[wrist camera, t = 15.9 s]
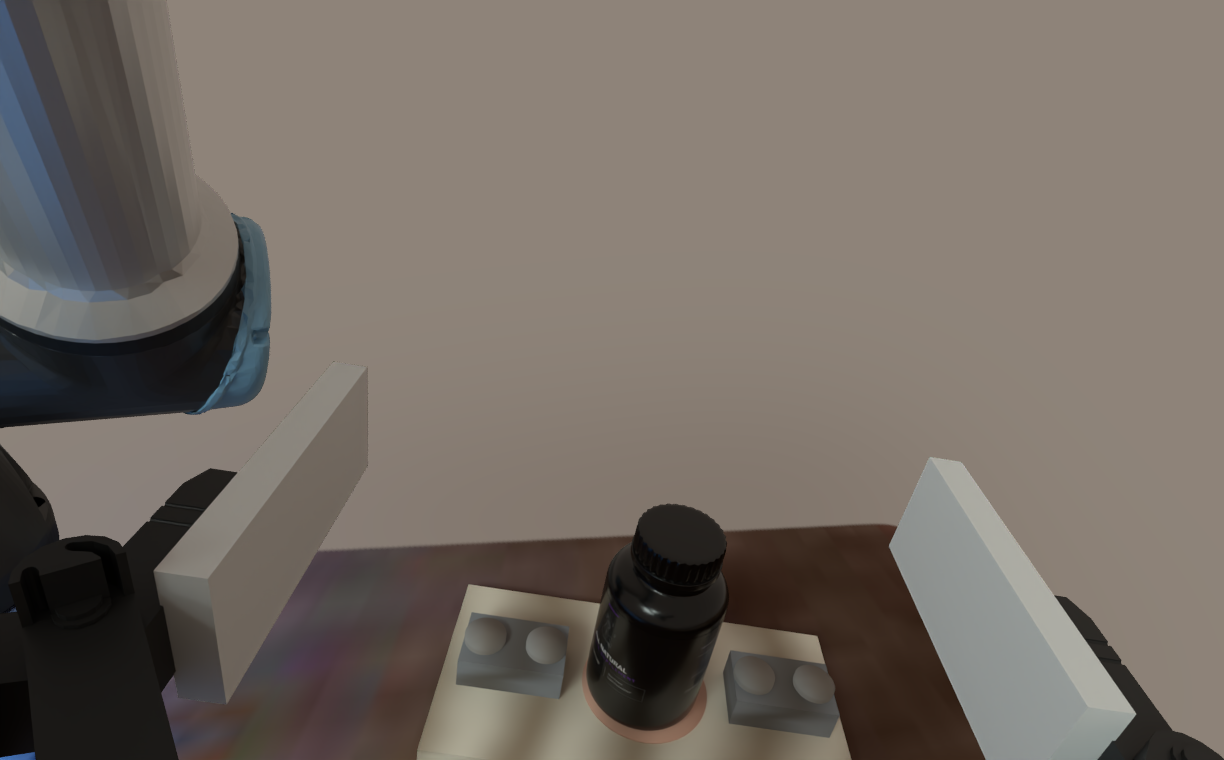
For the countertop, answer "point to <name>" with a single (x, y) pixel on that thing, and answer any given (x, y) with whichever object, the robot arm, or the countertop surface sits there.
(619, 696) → the supplement bottle
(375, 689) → the countertop surface
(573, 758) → the cream base tray
